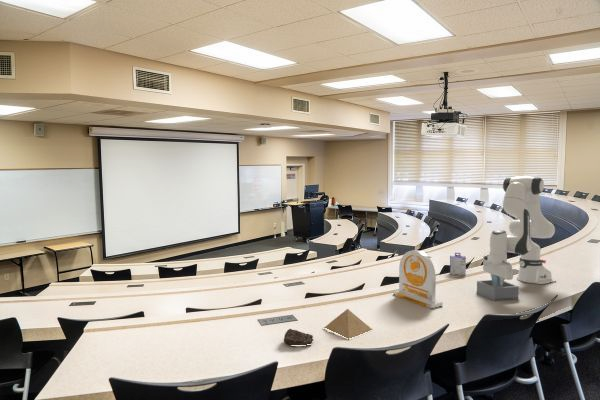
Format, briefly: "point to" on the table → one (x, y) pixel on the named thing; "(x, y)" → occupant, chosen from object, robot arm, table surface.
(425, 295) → the award
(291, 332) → the dark brown rock
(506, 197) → the robot arm
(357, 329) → the model pyramid
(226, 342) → the table surface
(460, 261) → the ink cartridge box
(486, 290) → the walled box
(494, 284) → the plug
